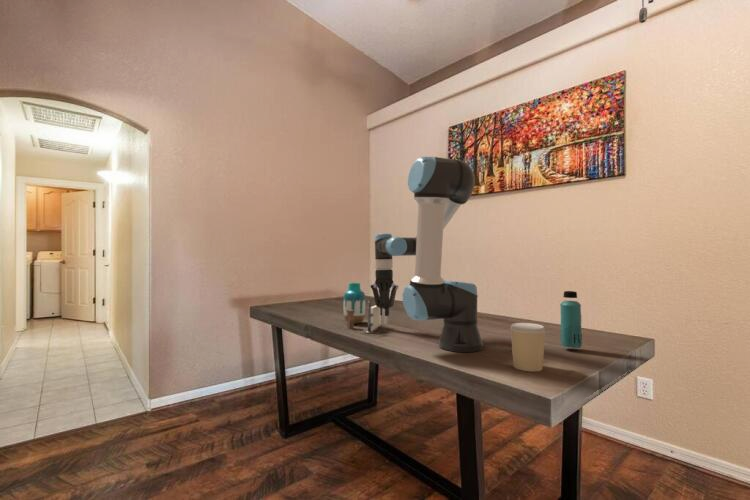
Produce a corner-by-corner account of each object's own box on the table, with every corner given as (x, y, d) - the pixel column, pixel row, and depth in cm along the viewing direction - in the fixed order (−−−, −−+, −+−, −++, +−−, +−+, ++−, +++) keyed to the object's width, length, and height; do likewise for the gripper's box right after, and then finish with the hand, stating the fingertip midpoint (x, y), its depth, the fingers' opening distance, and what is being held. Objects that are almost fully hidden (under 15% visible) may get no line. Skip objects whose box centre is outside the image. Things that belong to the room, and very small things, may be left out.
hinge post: (375, 332, 151) (375, 301, 151) (367, 333, 149) (367, 301, 149) (370, 331, 154) (370, 300, 154) (363, 332, 152) (363, 300, 152)
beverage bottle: (574, 353, 119) (573, 292, 119) (555, 348, 125) (555, 290, 125) (586, 351, 122) (585, 291, 122) (568, 346, 128) (567, 289, 128)
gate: (372, 330, 152) (371, 308, 152) (368, 330, 153) (367, 308, 153) (381, 325, 164) (381, 304, 164) (377, 324, 164) (377, 304, 164)
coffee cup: (534, 361, 110) (533, 322, 110) (552, 371, 101) (552, 328, 101) (504, 363, 109) (504, 323, 109) (521, 373, 99) (520, 329, 100)
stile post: (354, 328, 160) (354, 310, 160) (349, 329, 159) (349, 310, 159) (351, 327, 162) (351, 309, 162) (346, 328, 161) (346, 309, 161)
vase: (339, 324, 169) (339, 283, 170) (349, 320, 179) (349, 281, 179) (360, 326, 165) (359, 284, 166) (369, 322, 175) (368, 282, 175)
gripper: (400, 268, 158) (401, 322, 158) (375, 268, 164) (376, 320, 164) (393, 269, 151) (394, 326, 151) (367, 269, 157) (367, 323, 157)
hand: (384, 323), depth 157 cm, fingers closed
